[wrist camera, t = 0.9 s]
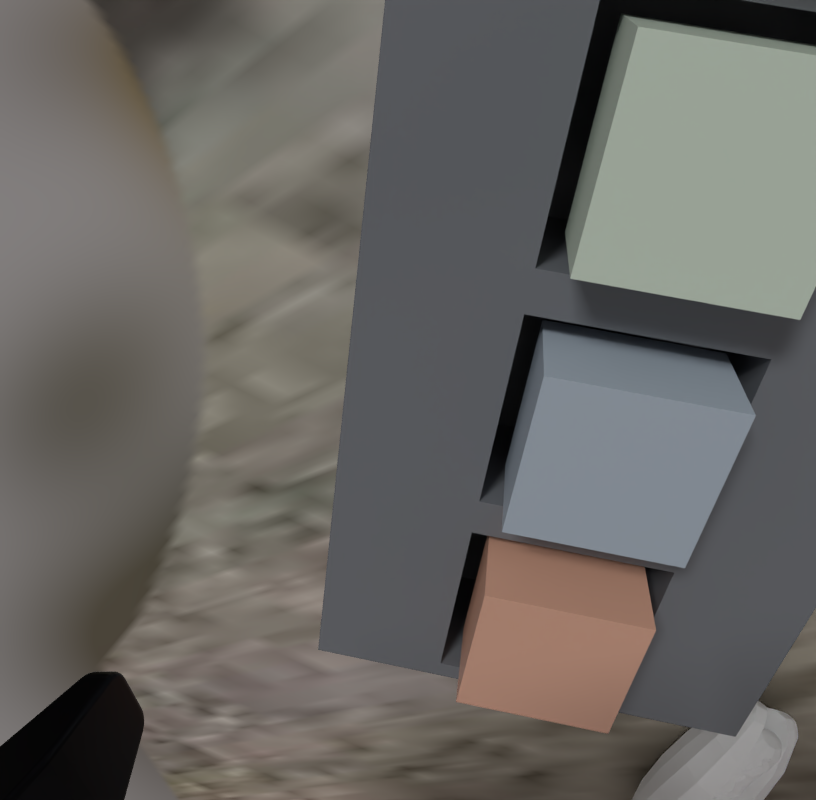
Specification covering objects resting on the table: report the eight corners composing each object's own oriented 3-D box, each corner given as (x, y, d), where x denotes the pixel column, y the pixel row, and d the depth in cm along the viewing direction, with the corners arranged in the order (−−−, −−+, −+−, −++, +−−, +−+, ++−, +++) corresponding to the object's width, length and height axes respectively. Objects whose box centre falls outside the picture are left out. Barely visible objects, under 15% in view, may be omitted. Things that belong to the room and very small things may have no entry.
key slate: (726, 353, 16) (756, 415, 14) (667, 495, 18) (684, 568, 16) (542, 319, 16) (544, 376, 14) (505, 464, 18) (501, 531, 16)
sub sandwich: (611, 780, 30) (617, 852, 27) (729, 665, 25) (748, 738, 23) (682, 808, 30) (693, 882, 27) (811, 697, 25) (837, 774, 23)
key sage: (852, 50, 13) (915, 71, 11) (762, 267, 15) (799, 320, 13) (620, 13, 13) (638, 26, 11) (565, 232, 15) (570, 278, 13)
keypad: (1251, -427, 11) (1555, -584, 8) (707, 626, 24) (735, 736, 21) (478, -526, 12) (458, -711, 9) (347, 553, 25) (318, 649, 21)
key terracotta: (642, 555, 19) (656, 630, 17) (600, 655, 21) (608, 733, 19) (489, 525, 19) (484, 595, 17) (463, 627, 22) (456, 701, 19)
